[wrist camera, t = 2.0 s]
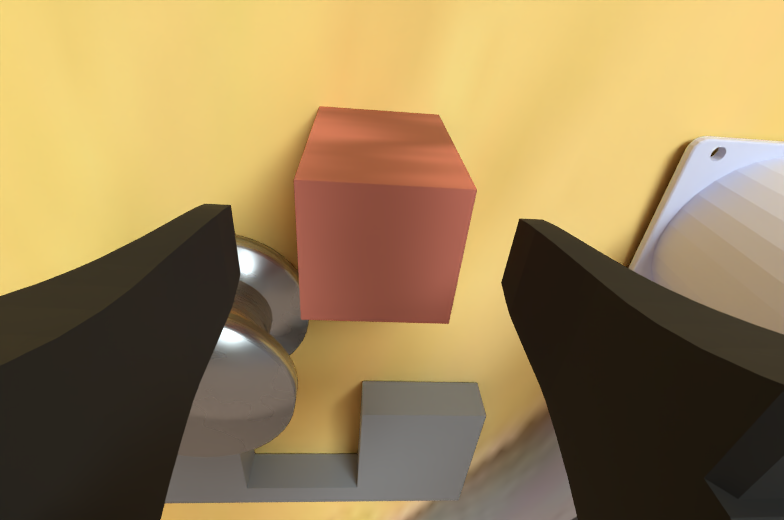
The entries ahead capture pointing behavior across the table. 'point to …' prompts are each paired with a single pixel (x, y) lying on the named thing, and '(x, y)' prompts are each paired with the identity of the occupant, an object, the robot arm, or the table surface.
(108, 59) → the table surface
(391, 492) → the notched board
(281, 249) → the table surface
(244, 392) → the bobbin
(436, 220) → the block
